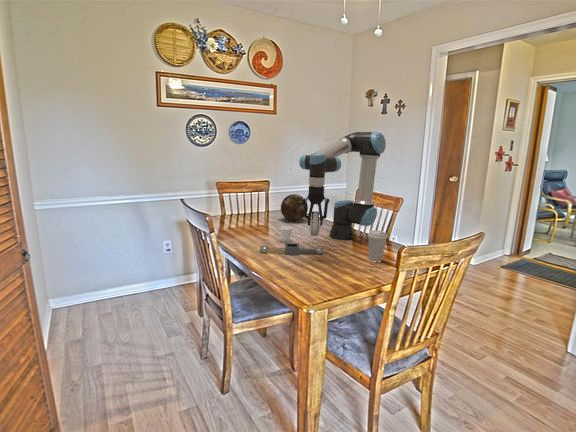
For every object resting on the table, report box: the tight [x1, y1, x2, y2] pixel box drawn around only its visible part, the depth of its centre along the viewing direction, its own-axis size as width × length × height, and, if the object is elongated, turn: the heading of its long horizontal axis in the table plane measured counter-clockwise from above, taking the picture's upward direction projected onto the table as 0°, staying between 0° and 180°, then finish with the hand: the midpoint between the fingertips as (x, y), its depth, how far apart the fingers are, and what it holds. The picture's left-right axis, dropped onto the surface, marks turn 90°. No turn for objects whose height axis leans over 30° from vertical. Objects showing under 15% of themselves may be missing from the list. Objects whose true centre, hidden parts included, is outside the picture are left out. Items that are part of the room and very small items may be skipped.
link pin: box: [310, 210, 320, 237], centre depth 168 cm, size 4×4×12 cm
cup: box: [274, 226, 293, 243], centre depth 198 cm, size 7×10×8 cm
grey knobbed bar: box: [259, 242, 325, 256], centre depth 179 cm, size 34×7×4 cm, turn 91°
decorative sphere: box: [280, 193, 309, 222], centre depth 246 cm, size 20×20×20 cm
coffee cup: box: [367, 229, 388, 262], centre depth 170 cm, size 10×10×15 cm
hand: (314, 231), depth 169 cm, fingers closed on link pin, 4 cm apart
